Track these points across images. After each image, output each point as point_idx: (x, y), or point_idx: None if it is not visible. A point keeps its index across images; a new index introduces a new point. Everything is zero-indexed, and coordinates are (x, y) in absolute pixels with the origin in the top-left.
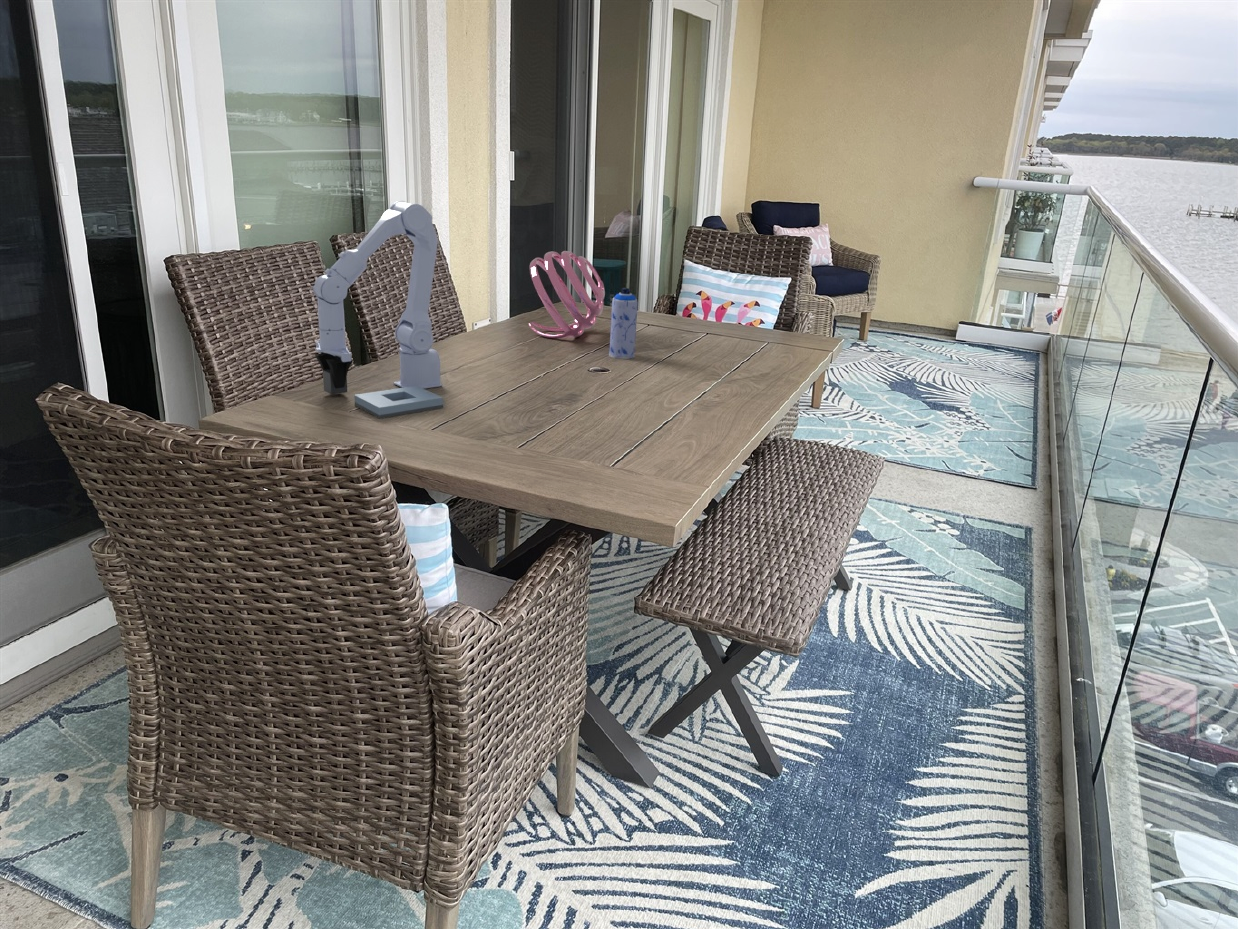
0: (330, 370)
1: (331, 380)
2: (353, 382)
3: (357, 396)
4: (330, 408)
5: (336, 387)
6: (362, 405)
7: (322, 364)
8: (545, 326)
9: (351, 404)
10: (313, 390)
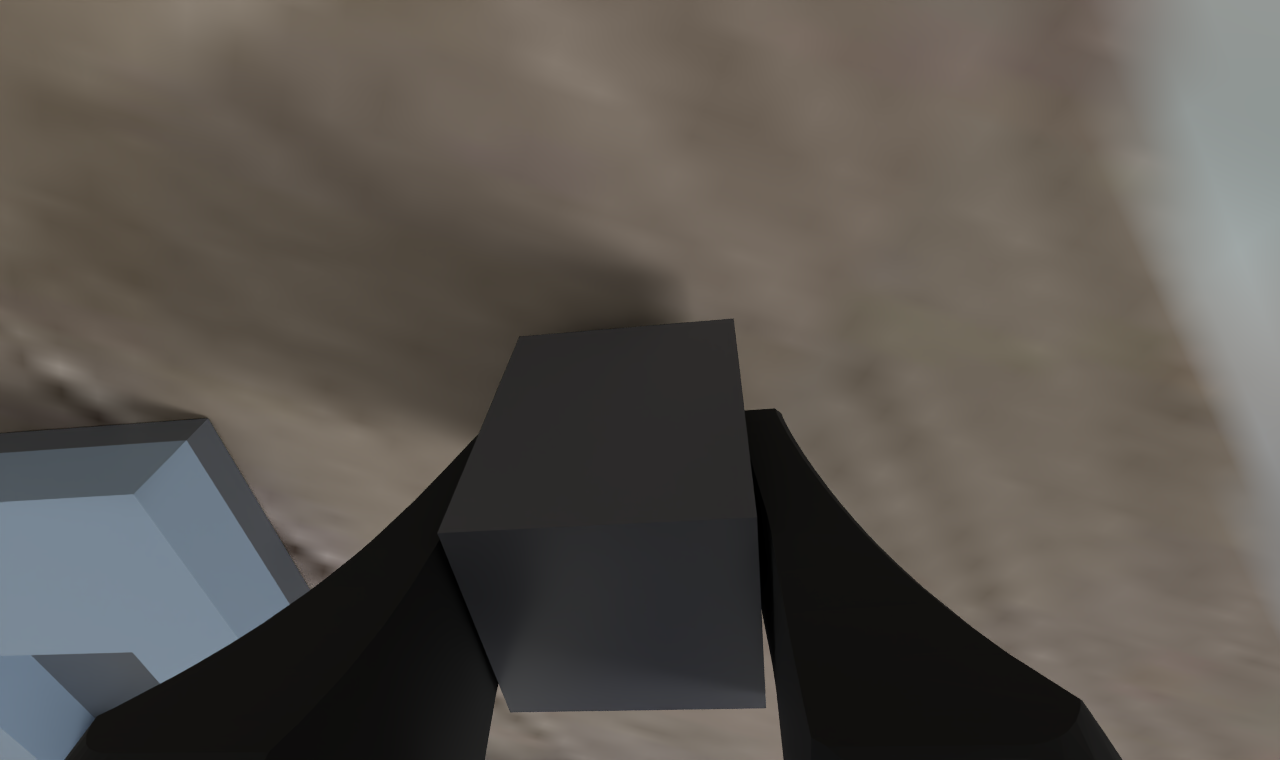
0: (653, 593)
1: (476, 461)
2: (994, 628)
3: (60, 497)
4: (92, 170)
5: (474, 438)
6: (25, 455)
7: (782, 610)
8: None
9: (248, 403)
10: (971, 236)
